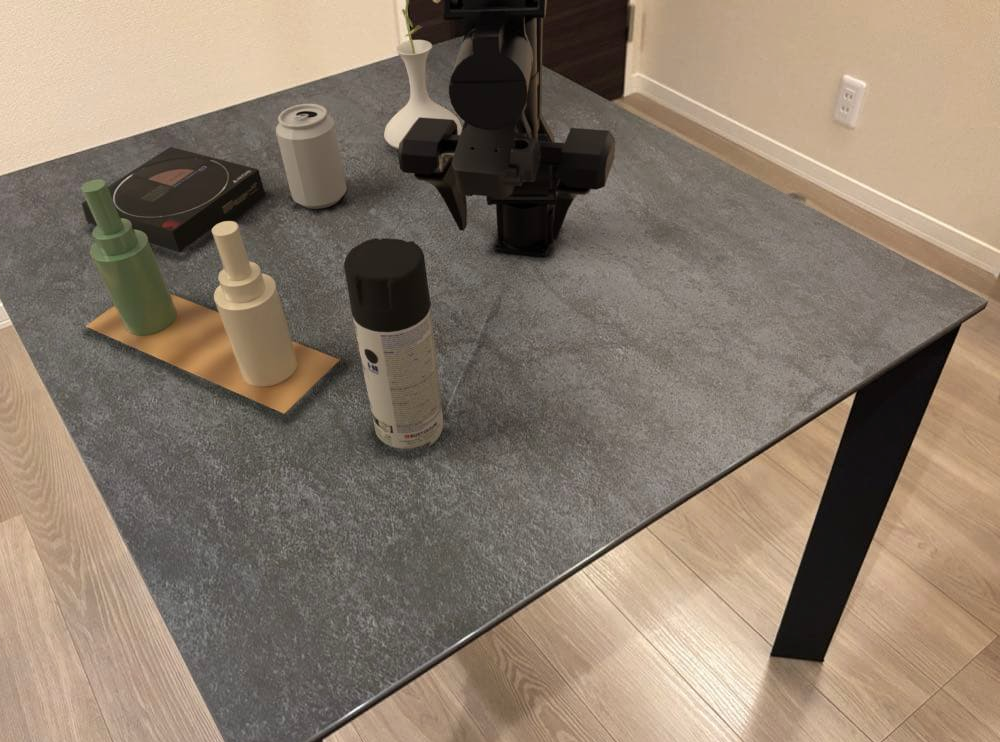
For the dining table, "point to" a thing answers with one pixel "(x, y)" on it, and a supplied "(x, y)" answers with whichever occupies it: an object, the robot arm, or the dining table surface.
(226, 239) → the cream bottle
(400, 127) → the flower in vase
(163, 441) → the dining table surface
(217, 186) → the portable cd player
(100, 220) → the green bottle
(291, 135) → the can
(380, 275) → the spray can
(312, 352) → the board
